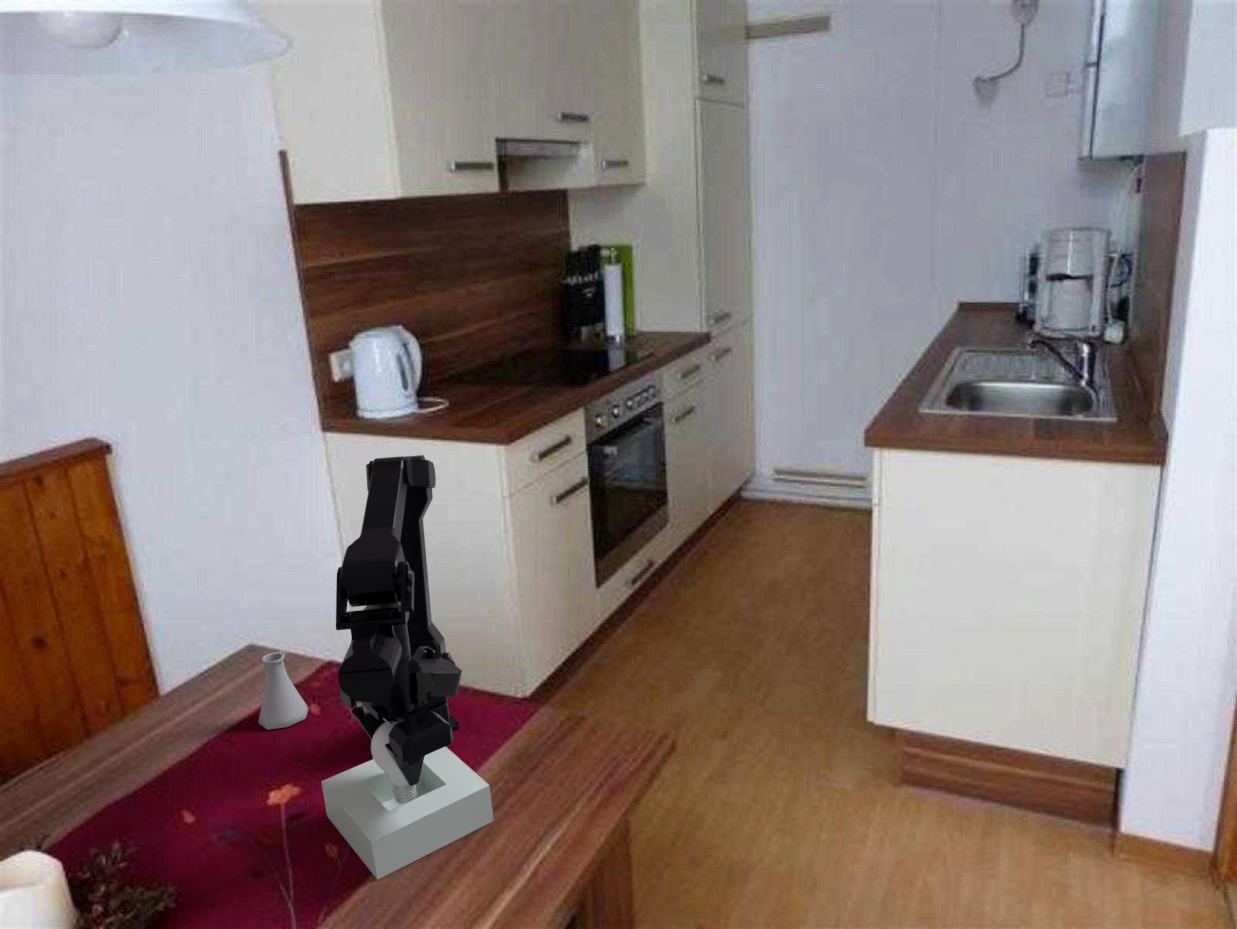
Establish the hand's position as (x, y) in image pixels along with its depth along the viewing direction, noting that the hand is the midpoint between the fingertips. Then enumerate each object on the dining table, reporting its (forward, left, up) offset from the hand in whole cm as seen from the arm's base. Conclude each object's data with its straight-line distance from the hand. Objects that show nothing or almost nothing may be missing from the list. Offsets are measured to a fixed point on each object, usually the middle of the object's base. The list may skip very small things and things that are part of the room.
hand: (402, 772), depth 113 cm
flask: (-35, -4, -7) cm, 36 cm away
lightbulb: (0, 0, -4) cm, 4 cm away
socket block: (0, 0, -6) cm, 6 cm away
